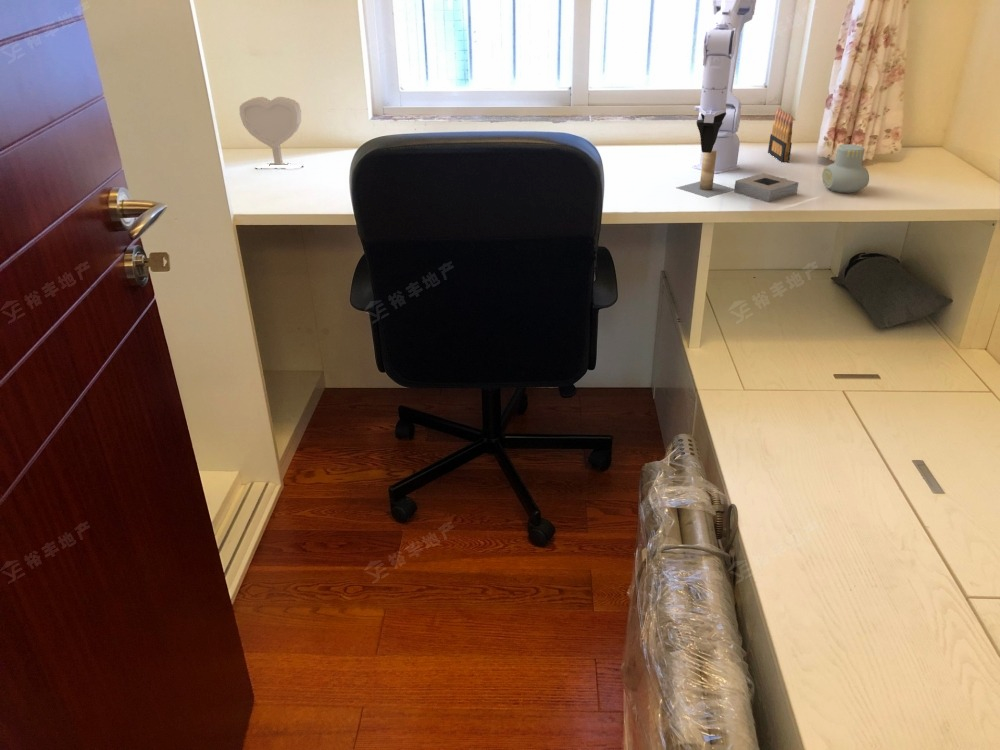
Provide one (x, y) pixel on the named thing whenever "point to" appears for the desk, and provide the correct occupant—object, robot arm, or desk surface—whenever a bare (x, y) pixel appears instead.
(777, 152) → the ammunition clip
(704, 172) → the peg
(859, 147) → the air freshener
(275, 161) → the heart sculpture
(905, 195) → the desk surface
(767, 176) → the square hole block
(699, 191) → the mat
